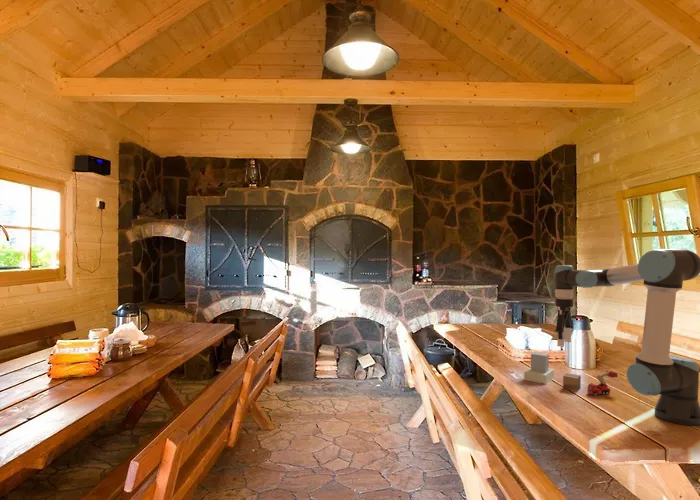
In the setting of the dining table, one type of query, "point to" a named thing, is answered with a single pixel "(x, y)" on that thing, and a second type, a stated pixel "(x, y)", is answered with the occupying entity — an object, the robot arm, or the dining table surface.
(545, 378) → the plinth
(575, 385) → the block
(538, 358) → the block
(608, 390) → the toy fire truck
